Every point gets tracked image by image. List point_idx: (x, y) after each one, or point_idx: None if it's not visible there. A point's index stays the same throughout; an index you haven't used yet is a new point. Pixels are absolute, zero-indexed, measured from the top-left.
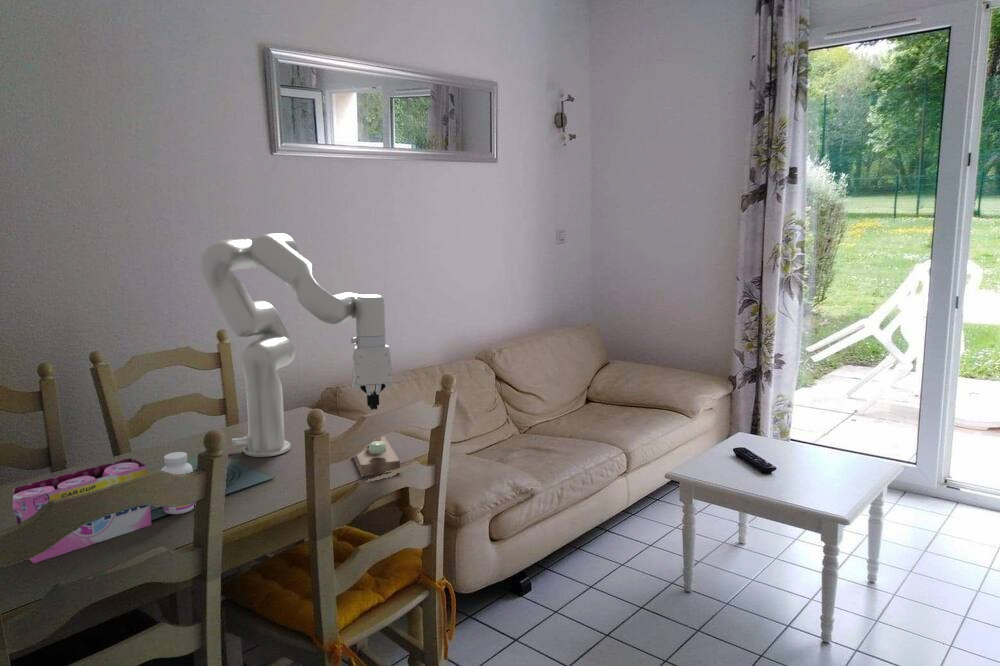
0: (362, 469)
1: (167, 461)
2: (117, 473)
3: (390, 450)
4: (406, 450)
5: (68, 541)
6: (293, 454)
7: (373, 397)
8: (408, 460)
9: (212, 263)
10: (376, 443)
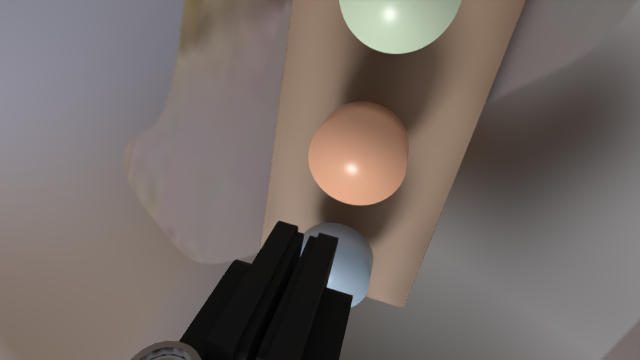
0: None
1: None
2: None
3: (298, 66)
4: (213, 141)
5: None
6: (632, 347)
7: (267, 333)
8: (239, 21)
9: None
10: (400, 4)
